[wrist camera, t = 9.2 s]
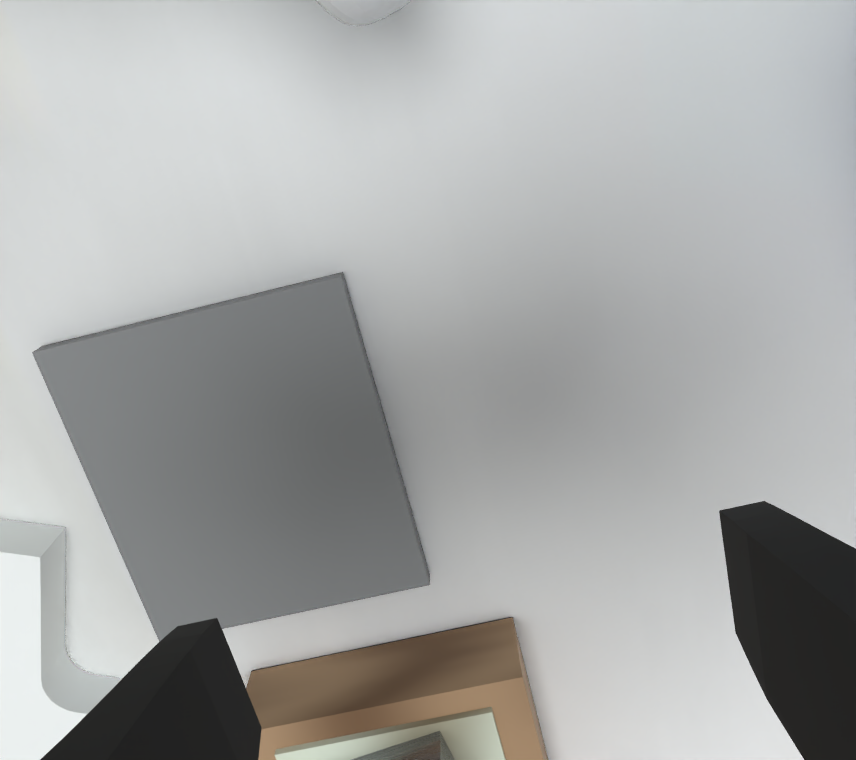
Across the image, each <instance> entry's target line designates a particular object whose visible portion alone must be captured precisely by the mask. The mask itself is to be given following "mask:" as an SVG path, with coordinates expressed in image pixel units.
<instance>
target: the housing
mask: <svg viewBox="0 0 856 760" xmlns="http://www.w3.org/2000/svg"><path fill="white" fill-rule="evenodd" d="M351 760H455V759H454V757H453V755H452V753H451V751H450V749H449V747H448V745H447V743H446V741H445V740H444V738H443V736H442V734H441V732H440V731H437V732H434V733H431V734H428V735H425V736H422V737H419V738H416V739H412V740H409V741H406V742H403V743H400V744H397V745H394V746H391V747H388V748H385V749H382V750H379V751H376V752H373V753H370V754H367V755H364V756H361V757H358V758H354V759H351Z"/></svg>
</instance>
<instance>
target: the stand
mask: <svg viewBox="0 0 856 760" xmlns="http://www.w3.org/2000/svg"><path fill="white" fill-rule="evenodd" d="M246 690H247V693H248V695H249V698H250V700H251V703H252V705H253V707H254V710H255V712H256V715H257V717H258V720H259V722H260V725H261V727H262V729H261V739H260V748H259V758H258V760H351V759H354V758H358V757H361V756H364V755H367V754H370V753H373V752H376V751H379V750H382V749H385V748H388V747H391V746H394V745H397V744H400V743H403V742H406V741H409V740H412V739H416V738H419V737H422V736H425V735H428V734H431V733H434V732H437V731H440V732H441V734H442V736H443V738H444V740H445V741H446V743H447V745H448V747H449V749H450V751H451V753H452V755H453V757H454V759H455V760H548V757H547V753H546V749H545V745H544V741H543V737H542V733H541V729H540V725H539V721H538V717H537V713H536V709H535V705H534V701H533V697H532V693H531V689H530V685H529V681H528V677H527V673H526V669H525V665H524V661H523V657H522V653H521V649H520V645H519V641H518V637H517V633H516V629H515V625H514V621H513V617H512V618H507V619H502V620H497V621H492V622H487V623H483V624H478V625H473V626H468V627H463V628H458V629H454V630H449V631H444V632H439V633H434V634H429V635H425V636H420V637H415V638H410V639H405V640H400V641H396V642H391V643H386V644H381V645H376V646H371V647H367V648H362V649H357V650H352V651H347V652H342V653H338V654H333V655H328V656H323V657H318V658H313V659H308V660H304V661H299V662H294V663H289V664H284V665H279V666H275V667H270V668H265V669H260V670H255V671H251V674H250V678H249V681H248V684H247V688H246Z"/></svg>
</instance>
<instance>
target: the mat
mask: <svg viewBox="0 0 856 760" xmlns="http://www.w3.org/2000/svg"><path fill="white" fill-rule="evenodd" d="M32 353H33V355H34V358H35V360H36V362H37V365H38V367H39V369H40V371H41V374H42V376H43V378H44V380H45V383H46V385H47V387H48V390H49V392H50V394H51V396H52V399H53V401H54V403H55V405H56V408H57V410H58V412H59V415H60V417H61V419H62V421H63V424H64V426H65V428H66V430H67V433H68V435H69V437H70V439H71V442H72V444H73V446H74V449H75V451H76V453H77V455H78V458H79V460H80V462H81V464H82V467H83V469H84V471H85V474H86V476H87V478H88V480H89V483H90V485H91V487H92V489H93V492H94V494H95V496H96V499H97V501H98V503H99V505H100V508H101V510H102V512H103V514H104V517H105V519H106V521H107V524H108V526H109V528H110V530H111V533H112V535H113V537H114V539H115V542H116V544H117V546H118V549H119V551H120V553H121V555H122V558H123V560H124V562H125V564H126V567H127V569H128V571H129V574H130V576H131V578H132V580H133V583H134V585H135V587H136V589H137V592H138V594H139V596H140V599H141V601H142V603H143V605H144V608H145V610H146V612H147V614H148V617H149V619H150V621H151V623H152V626H153V628H154V630H155V633H156V635H157V637H158V639H159V642H160V641H161V640H162V639H163V638H164V637H165V636H167V635H168V634H169V633H170V632H171V631H172V630H174V629H175V628H176V627H177V626H181V625H186V624H190V623H195V622H200V621H204V620H209V619H214V618H217V619H218V621H219V623H220V626H221V628H222V629H224V628H228V627H233V626H238V625H242V624H247V623H252V622H257V621H261V620H266V619H271V618H275V617H280V616H285V615H290V614H294V613H299V612H304V611H309V610H313V609H318V608H323V607H327V606H332V605H337V604H342V603H346V602H351V601H356V600H360V599H365V598H370V597H375V596H379V595H384V594H389V593H393V592H398V591H403V590H408V589H412V588H417V587H422V586H426V585H430V574H429V570H428V567H427V564H426V560H425V557H424V553H423V550H422V546H421V543H420V539H419V536H418V532H417V529H416V525H415V522H414V518H413V515H412V511H411V508H410V504H409V501H408V497H407V494H406V491H405V487H404V484H403V480H402V477H401V473H400V470H399V466H398V463H397V459H396V456H395V452H394V449H393V445H392V442H391V438H390V435H389V431H388V428H387V425H386V421H385V418H384V414H383V411H382V407H381V404H380V400H379V397H378V393H377V390H376V386H375V383H374V379H373V376H372V372H371V369H370V365H369V362H368V358H367V355H366V352H365V348H364V345H363V341H362V338H361V334H360V331H359V327H358V324H357V320H356V317H355V313H354V310H353V306H352V303H351V299H350V296H349V292H348V289H347V285H346V282H345V279H344V275H343V272H342V273H338V274H334V275H330V276H326V277H322V278H318V279H314V280H309V281H305V282H301V283H297V284H293V285H289V286H285V287H281V288H277V289H273V290H269V291H265V292H261V293H257V294H253V295H249V296H245V297H241V298H237V299H232V300H228V301H224V302H220V303H216V304H212V305H208V306H204V307H200V308H196V309H192V310H188V311H184V312H180V313H176V314H172V315H168V316H164V317H160V318H156V319H151V320H147V321H143V322H139V323H135V324H131V325H127V326H123V327H119V328H115V329H111V330H107V331H103V332H99V333H95V334H91V335H87V336H83V337H79V338H74V339H70V340H66V341H62V342H58V343H54V344H50V345H46V346H42V347H40V348H39V349H37V350H35V351H34V352H32Z"/></svg>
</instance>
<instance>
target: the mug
mask: <svg viewBox="0 0 856 760" xmlns="http://www.w3.org/2000/svg"><path fill="white" fill-rule="evenodd" d="M316 1H317V2H318V3H319V4H320V5H321V6H322V7H323V8H324V9H325V10H326V11H327V12H328V13H329V14H331V15H332V16H333V17H335V18H336V19H338V20H339V21H341V22H342V23H344V24H347V25H352V26H363V25H369V24H372V23H374V22H376V21H379V20H381V19H384V18H385V17H387V16H389V15H391V14H392V13H394V12H396V11H398V10H399V9H401V8H403V7H404V6H405V5H406V4H408V3H409V2H410V1H411V0H316Z"/></svg>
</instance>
